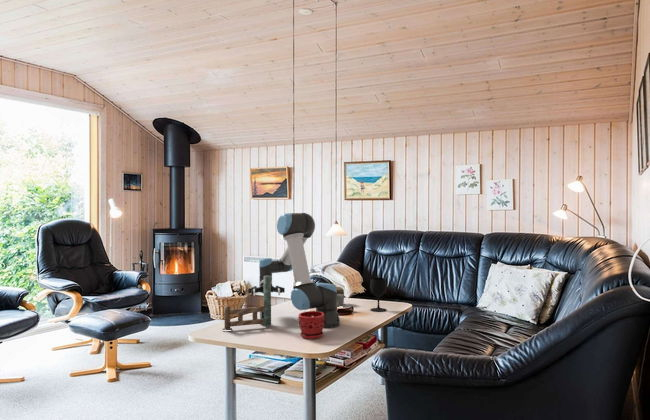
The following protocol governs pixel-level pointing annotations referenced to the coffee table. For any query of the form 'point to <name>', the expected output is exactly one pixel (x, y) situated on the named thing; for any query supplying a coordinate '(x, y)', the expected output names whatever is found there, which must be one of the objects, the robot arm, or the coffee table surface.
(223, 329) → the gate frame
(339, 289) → the shell
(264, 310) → the gate
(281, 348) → the coffee table surface
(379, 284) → the wine glass
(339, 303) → the digital clock
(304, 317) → the plant pot
